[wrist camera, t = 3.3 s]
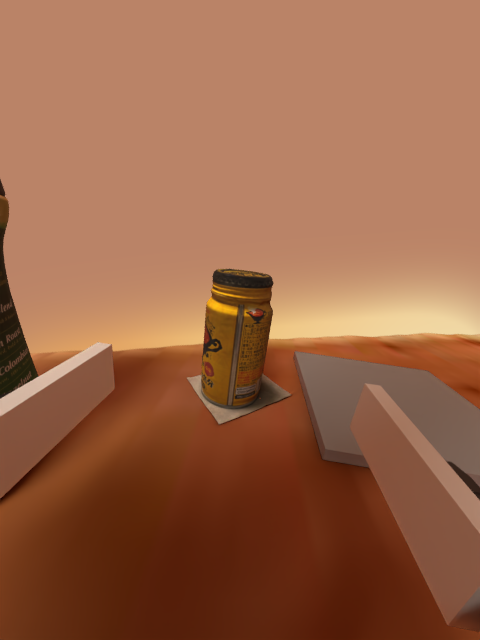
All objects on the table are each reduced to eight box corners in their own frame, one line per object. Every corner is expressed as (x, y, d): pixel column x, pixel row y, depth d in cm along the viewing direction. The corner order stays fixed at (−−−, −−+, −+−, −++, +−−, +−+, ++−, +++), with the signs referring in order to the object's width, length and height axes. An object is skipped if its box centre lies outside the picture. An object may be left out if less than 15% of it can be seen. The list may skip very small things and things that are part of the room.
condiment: (186, 379, 24) (191, 264, 20) (249, 363, 28) (264, 268, 25) (218, 426, 18) (234, 280, 14) (291, 397, 23) (317, 281, 19)
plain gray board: (424, 377, 30) (427, 370, 30) (585, 504, 15) (594, 494, 15) (293, 357, 31) (294, 351, 31) (322, 459, 16) (325, 449, 16)
